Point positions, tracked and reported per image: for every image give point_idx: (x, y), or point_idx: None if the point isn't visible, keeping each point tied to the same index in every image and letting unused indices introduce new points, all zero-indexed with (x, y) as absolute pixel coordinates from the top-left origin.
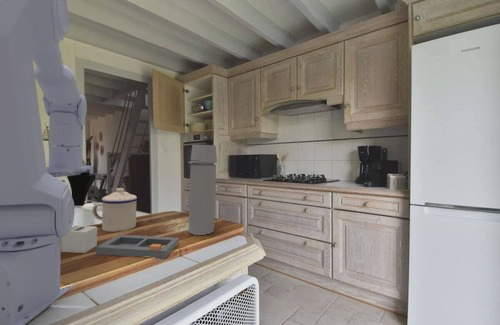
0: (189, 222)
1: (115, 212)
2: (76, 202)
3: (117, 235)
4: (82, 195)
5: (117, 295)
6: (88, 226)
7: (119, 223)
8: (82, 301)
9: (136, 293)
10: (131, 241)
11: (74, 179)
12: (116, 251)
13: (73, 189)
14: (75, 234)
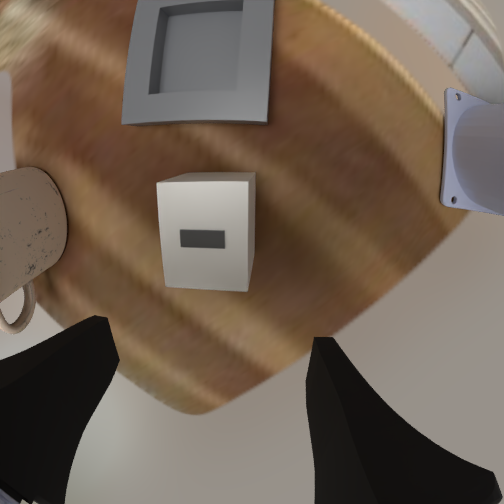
0: None
1: (11, 223)
2: (105, 358)
3: (131, 121)
4: (69, 358)
5: (446, 4)
6: (161, 225)
7: (38, 196)
8: (473, 57)
9: None
10: (158, 57)
11: (41, 480)
12: (271, 46)
13: (73, 431)
14: (249, 225)
